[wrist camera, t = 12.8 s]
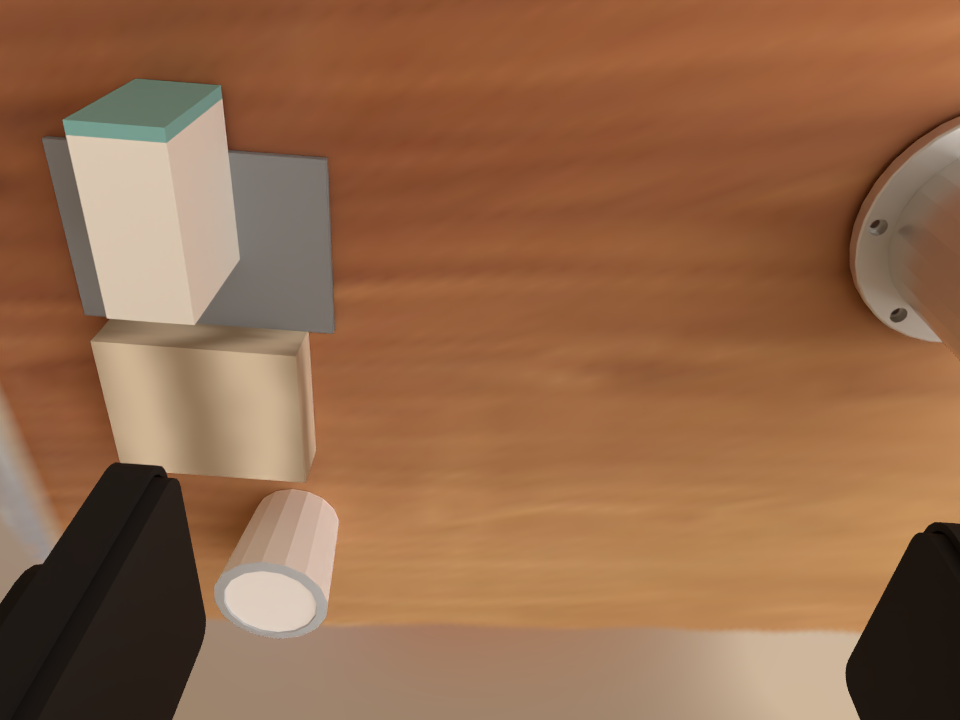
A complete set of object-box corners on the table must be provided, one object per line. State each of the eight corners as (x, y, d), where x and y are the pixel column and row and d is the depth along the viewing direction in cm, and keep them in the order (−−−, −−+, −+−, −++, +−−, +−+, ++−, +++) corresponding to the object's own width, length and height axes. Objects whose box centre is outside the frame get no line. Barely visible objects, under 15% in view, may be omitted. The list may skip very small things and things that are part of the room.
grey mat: (327, 157, 38) (326, 159, 38) (334, 330, 44) (333, 333, 43) (45, 135, 38) (41, 138, 38) (88, 311, 43) (84, 315, 43)
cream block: (240, 259, 41) (220, 85, 36) (194, 325, 35) (164, 127, 30) (164, 253, 41) (135, 78, 36) (106, 318, 35) (62, 119, 30)
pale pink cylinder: (286, 465, 49) (256, 546, 43) (368, 520, 52) (350, 604, 46) (226, 519, 52) (190, 602, 46) (307, 569, 54) (282, 654, 49)
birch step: (308, 328, 44) (296, 356, 41) (316, 450, 48) (305, 482, 46) (114, 313, 43) (90, 341, 41) (142, 437, 48) (121, 469, 46)
